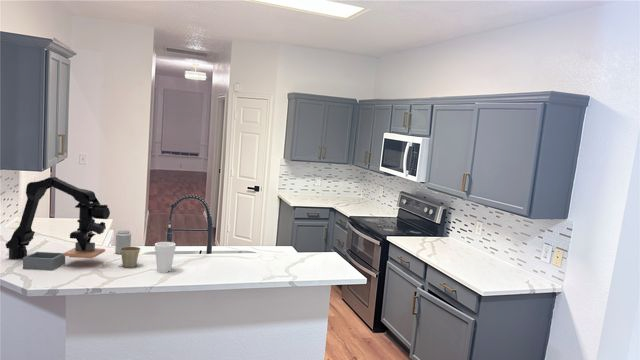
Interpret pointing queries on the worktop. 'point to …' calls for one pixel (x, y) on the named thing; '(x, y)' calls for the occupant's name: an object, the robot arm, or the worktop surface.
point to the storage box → (43, 261)
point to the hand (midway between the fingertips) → (85, 249)
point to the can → (122, 240)
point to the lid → (84, 251)
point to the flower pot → (129, 256)
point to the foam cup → (164, 255)
